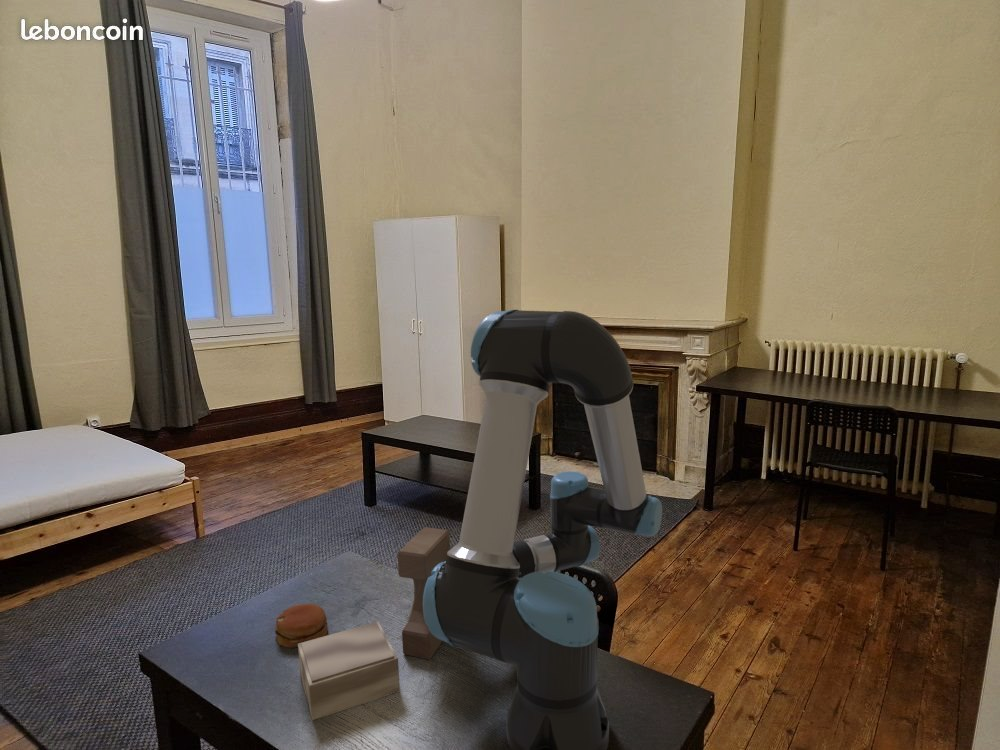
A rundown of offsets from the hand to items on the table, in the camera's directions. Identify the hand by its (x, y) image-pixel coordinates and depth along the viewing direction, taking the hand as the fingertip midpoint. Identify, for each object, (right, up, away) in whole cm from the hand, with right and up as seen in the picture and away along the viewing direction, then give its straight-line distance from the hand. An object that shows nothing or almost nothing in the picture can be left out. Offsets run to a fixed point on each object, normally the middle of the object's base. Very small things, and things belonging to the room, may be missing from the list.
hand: (426, 584), depth 113 cm
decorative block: (0, -11, +2) cm, 11 cm away
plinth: (-12, -13, -10) cm, 20 cm away
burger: (-24, -11, +5) cm, 27 cm away
